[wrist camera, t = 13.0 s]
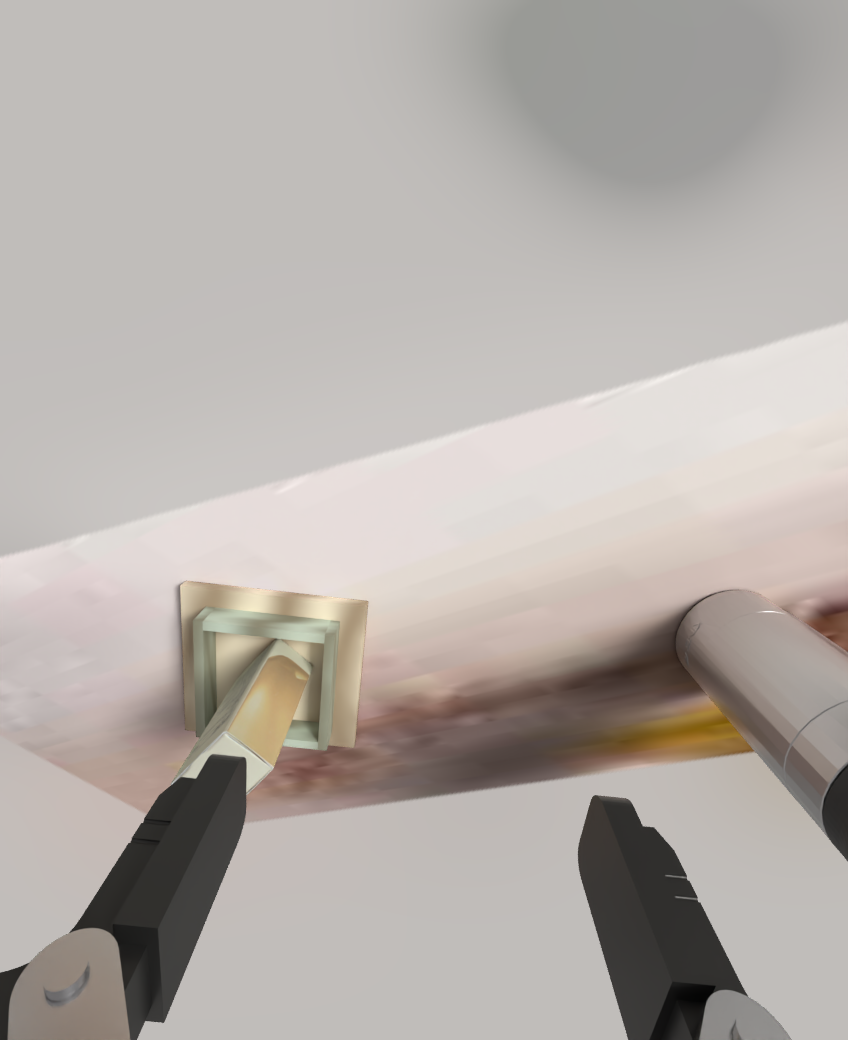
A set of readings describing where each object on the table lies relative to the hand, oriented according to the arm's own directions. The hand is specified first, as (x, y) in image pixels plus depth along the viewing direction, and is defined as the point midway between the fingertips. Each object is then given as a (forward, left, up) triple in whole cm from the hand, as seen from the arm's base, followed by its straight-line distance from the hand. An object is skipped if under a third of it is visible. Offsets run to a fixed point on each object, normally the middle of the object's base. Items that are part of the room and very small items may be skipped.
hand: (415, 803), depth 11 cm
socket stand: (+12, +18, -30) cm, 37 cm away
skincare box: (+12, +18, -29) cm, 36 cm away
